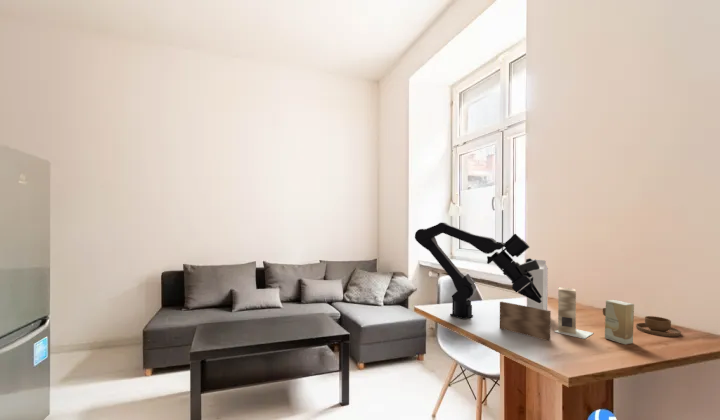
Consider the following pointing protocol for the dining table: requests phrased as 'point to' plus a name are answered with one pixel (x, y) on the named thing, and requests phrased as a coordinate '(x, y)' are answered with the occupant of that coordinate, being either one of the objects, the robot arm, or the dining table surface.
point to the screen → (525, 320)
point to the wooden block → (567, 310)
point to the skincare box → (619, 321)
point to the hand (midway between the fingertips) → (540, 300)
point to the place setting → (656, 326)
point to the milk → (540, 285)
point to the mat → (577, 333)
